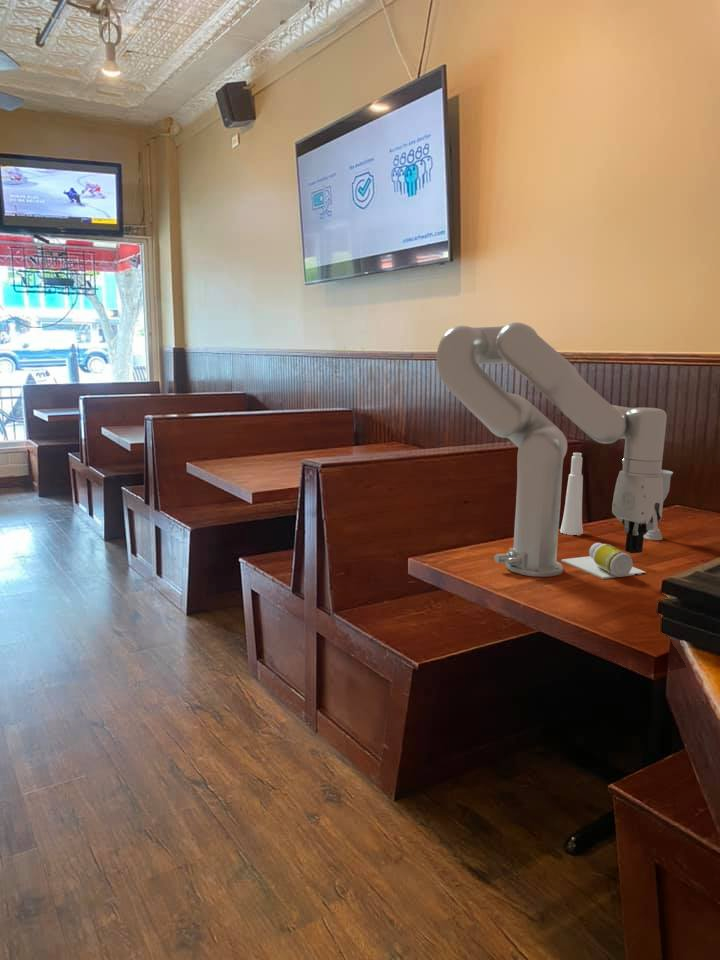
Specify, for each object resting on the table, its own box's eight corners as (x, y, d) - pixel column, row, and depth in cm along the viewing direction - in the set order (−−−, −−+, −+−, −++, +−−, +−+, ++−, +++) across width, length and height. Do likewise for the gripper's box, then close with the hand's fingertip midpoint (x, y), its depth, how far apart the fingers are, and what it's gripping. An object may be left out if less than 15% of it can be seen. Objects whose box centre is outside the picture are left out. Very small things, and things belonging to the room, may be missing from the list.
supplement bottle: (623, 549, 150) (596, 535, 159) (607, 568, 150) (581, 553, 159) (638, 563, 152) (610, 548, 161) (622, 582, 152) (595, 566, 161)
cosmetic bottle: (587, 535, 188) (593, 454, 184) (567, 536, 187) (573, 454, 183) (575, 529, 194) (581, 451, 190) (555, 530, 193) (561, 451, 189)
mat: (602, 579, 151) (602, 577, 151) (561, 561, 164) (561, 559, 164) (645, 573, 156) (645, 571, 156) (601, 556, 168) (601, 554, 168)
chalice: (669, 541, 183) (676, 474, 180) (642, 540, 184) (648, 473, 181) (662, 534, 190) (668, 469, 187) (636, 533, 191) (642, 468, 188)
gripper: (602, 462, 151) (595, 544, 154) (655, 474, 137) (646, 563, 141) (629, 461, 154) (622, 541, 157) (684, 472, 140) (674, 560, 144)
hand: (633, 551), depth 149 cm, fingers closed
